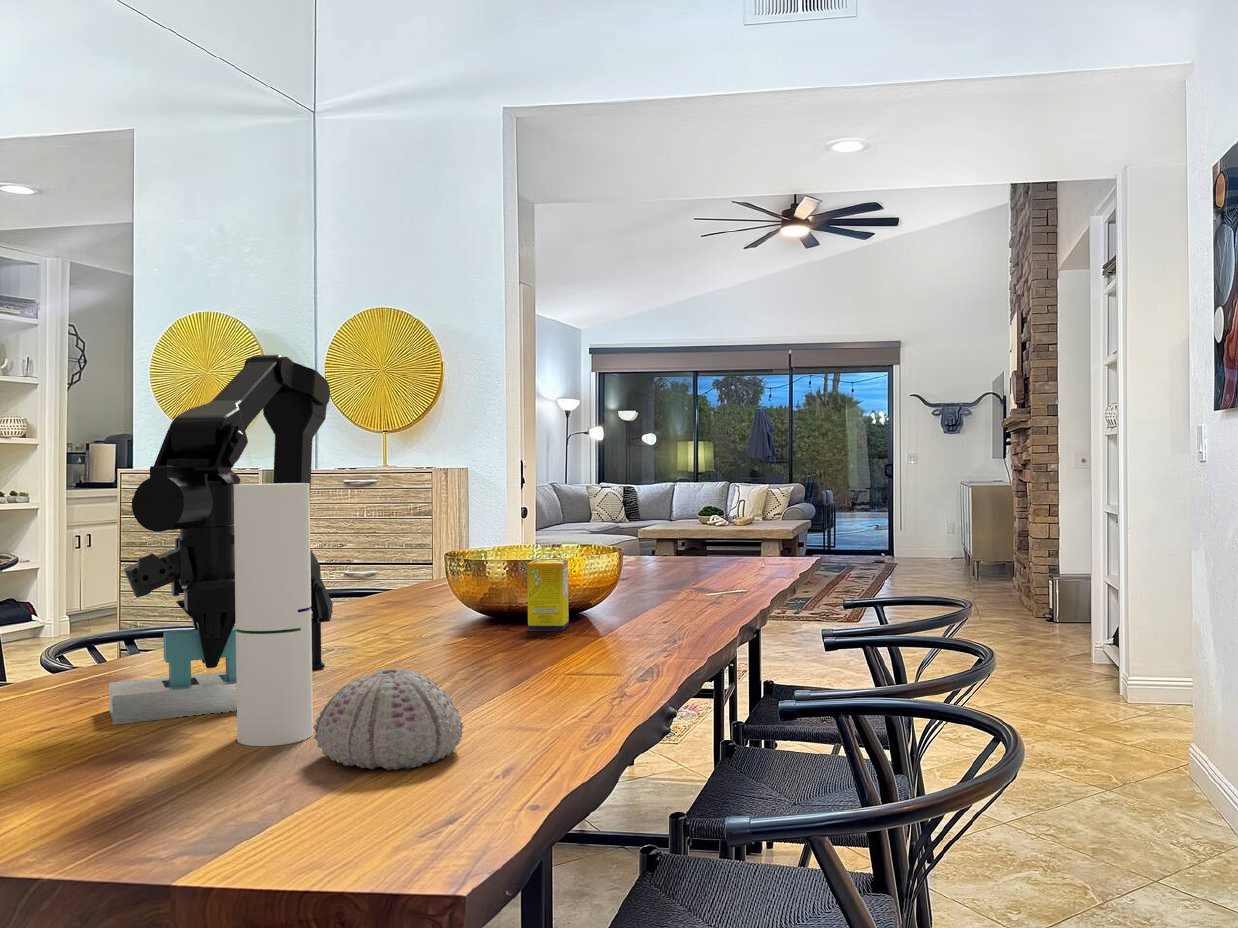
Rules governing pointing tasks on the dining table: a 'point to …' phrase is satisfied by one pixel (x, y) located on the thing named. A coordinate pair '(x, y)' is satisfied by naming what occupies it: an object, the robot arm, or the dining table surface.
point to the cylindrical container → (273, 613)
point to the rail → (170, 698)
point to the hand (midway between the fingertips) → (209, 665)
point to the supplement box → (547, 595)
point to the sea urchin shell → (389, 721)
